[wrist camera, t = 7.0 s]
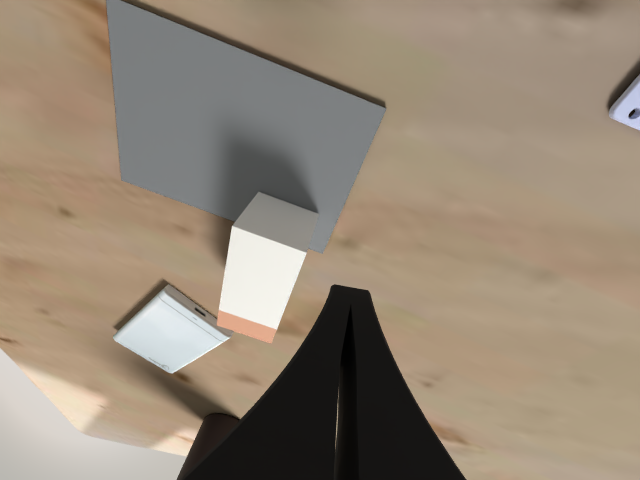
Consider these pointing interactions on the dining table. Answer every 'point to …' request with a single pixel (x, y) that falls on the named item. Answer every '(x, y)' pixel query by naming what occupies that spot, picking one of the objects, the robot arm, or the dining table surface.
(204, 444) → the bottle
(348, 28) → the dining table surface
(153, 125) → the mat
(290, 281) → the block
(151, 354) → the hard drive
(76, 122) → the dining table surface
